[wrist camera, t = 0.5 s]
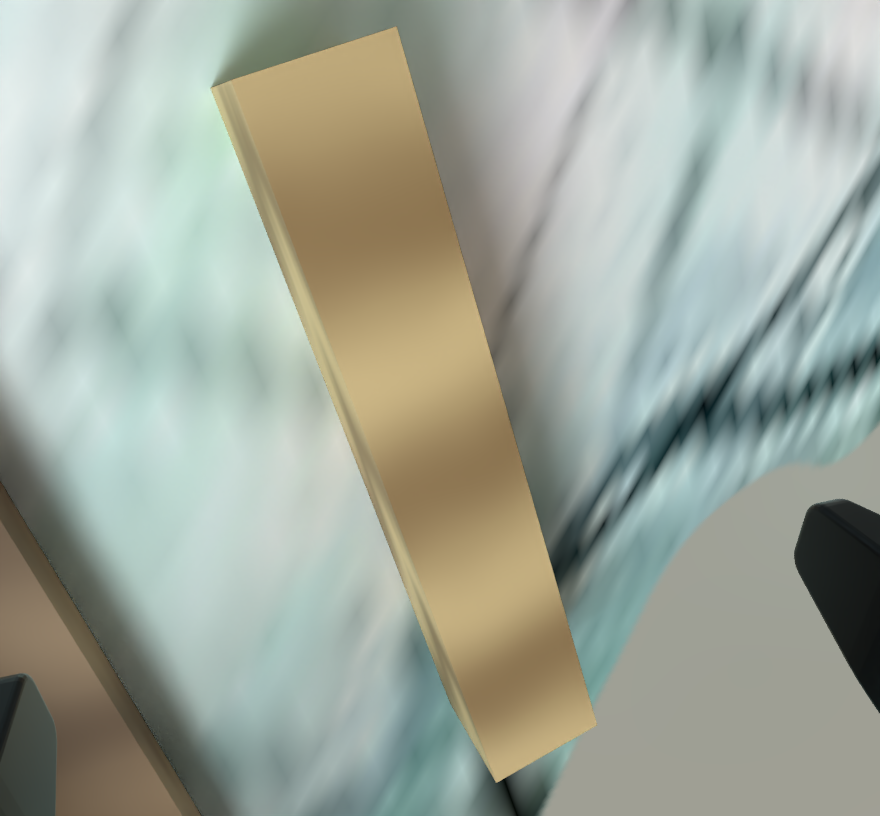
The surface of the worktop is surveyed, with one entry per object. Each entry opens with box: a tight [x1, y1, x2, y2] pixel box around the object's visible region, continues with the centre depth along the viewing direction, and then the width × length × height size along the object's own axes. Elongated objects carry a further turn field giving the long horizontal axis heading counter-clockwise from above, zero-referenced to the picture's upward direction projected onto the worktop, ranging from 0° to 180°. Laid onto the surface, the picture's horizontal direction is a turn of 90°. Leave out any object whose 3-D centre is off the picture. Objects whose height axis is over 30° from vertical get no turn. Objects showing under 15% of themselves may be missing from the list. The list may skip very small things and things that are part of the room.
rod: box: [211, 26, 597, 783], centre depth 22 cm, size 20×4×4 cm, turn 18°
